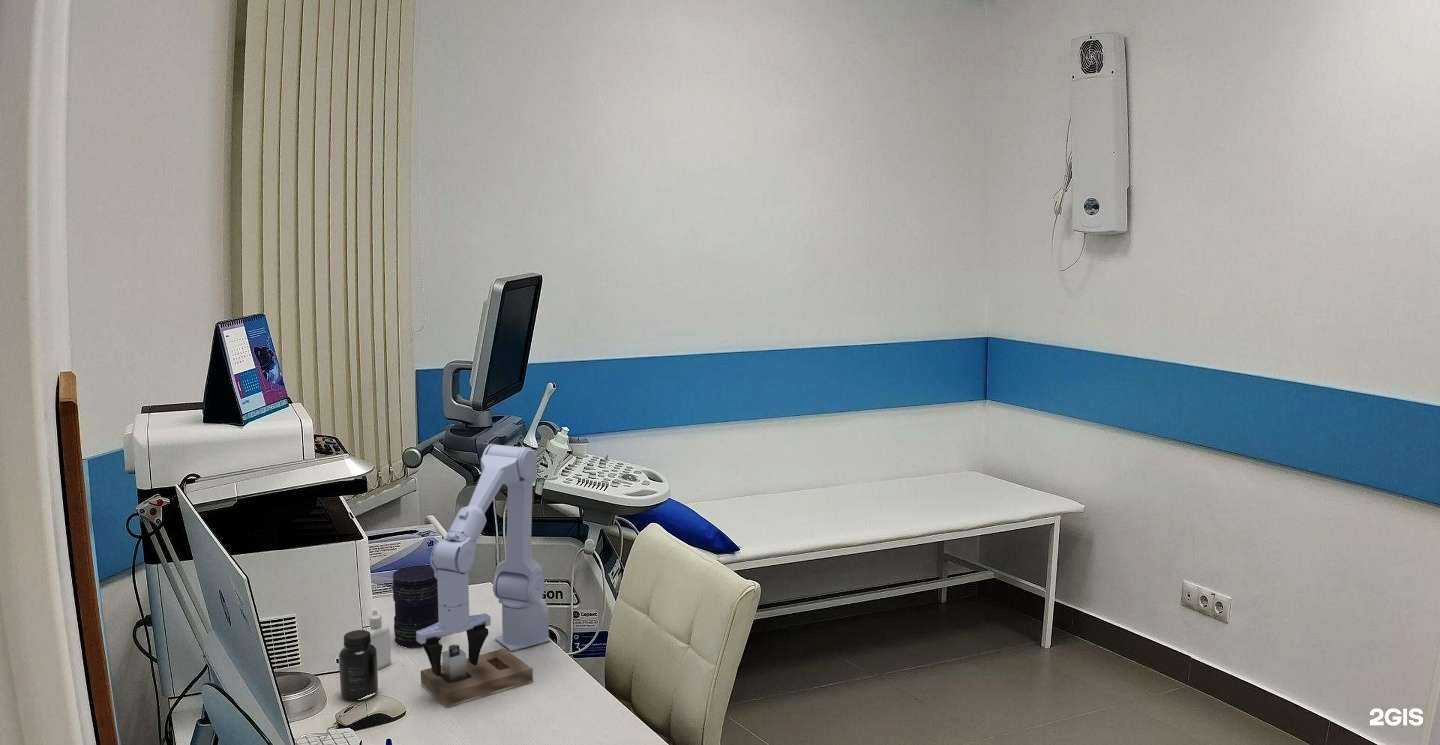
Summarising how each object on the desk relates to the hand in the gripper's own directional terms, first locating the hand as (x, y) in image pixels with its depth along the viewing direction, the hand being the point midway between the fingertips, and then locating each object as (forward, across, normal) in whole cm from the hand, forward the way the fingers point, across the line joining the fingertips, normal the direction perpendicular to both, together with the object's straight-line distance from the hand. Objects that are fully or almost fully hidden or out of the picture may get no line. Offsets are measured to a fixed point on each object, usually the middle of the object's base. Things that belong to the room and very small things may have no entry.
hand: (455, 668), depth 200 cm
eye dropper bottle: (+4, +8, -19) cm, 21 cm away
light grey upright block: (+4, 0, 0) cm, 4 cm away
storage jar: (+4, -5, -27) cm, 28 cm away
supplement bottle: (+4, +15, -10) cm, 18 cm away
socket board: (+4, -4, 0) cm, 6 cm away
